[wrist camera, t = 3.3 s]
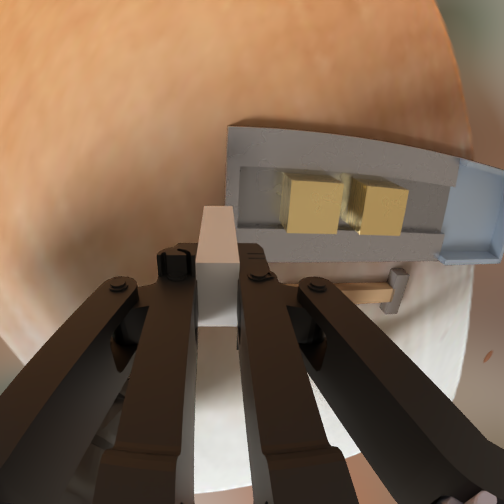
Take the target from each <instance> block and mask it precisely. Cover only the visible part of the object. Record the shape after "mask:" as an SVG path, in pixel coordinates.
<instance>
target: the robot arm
mask: <svg viewBox="0 0 504 504" xmlns="http://www.w3.org/2000/svg"><path fill="white" fill-rule="evenodd" d="M157 265H158V275H159V276H158V279H157V283H154V284H152V285H148V286H142V287H137V283H136V281H135V280H134V279H132V278H129V277H122V276H119V277H114V278H112V279H109V280H107V281H106V282H104V283H103V284H102V285H101V286H100V287H99V288H98V289H97V290H96V291H95V292H94V293H93V294H92V295H91V296H90V297H89V298H88V299H87V300H86V301H85V302H84V303H83V304H82V305H81V306H80V307H79V308H78V309H77V310H76V311H75V312H74V313H73V314H72V315H71V316H70V317H69V318H68V319H67V320H66V321H65V323H64V324H63V325H62V326H61V327H60V328H59V329H58V330H57V331H56V332H55V333H54V334H53V335H52V336H51V338H50V339H49V340H48V341H47V342H46V343H45V344H44V345H43V346H42V347H41V349H40V350H39V351H38V352H37V353H36V354H35V355H34V356H33V358H32V359H31V360H30V361H29V362H28V363H27V364H26V366H25V367H24V368H23V369H22V370H21V371H20V373H19V374H18V375H17V376H16V377H15V379H14V380H13V381H12V382H11V383H10V385H9V386H8V387H7V389H5V391H4V392H3V393H2V394H1V396H0V504H195V503H194V423H195V392H196V368H197V349H198V326H237V321H238V329H237V350H239V360H240V371H241V382H242V392H243V402H244V413H245V423H246V432H247V442H248V451H249V461H250V470H251V479H252V488H253V497H254V504H359V502H358V499H357V496H356V492H355V489H354V486H353V483H352V480H351V477H350V473H349V470H348V467H347V464H346V461H345V458H344V456H343V454H342V451H341V450H340V449H339V448H338V447H334V446H331V445H330V444H329V442H328V440H327V437H326V433H325V430H324V427H323V423H322V420H321V417H320V413H319V410H318V407H317V403H316V400H315V397H314V394H313V390H312V387H311V384H310V381H309V377H308V374H309V375H310V377H311V378H312V380H313V381H314V383H315V384H316V386H317V387H318V389H319V390H320V392H321V393H322V395H323V396H324V398H325V399H326V401H327V402H328V404H329V405H330V407H331V408H332V410H333V411H334V413H335V414H336V416H337V417H338V419H339V420H340V422H341V423H342V425H343V426H344V428H345V429H346V430H347V432H348V433H349V435H350V436H351V438H352V439H353V441H354V442H355V444H356V445H357V447H358V448H359V449H360V451H361V452H362V454H363V455H364V457H365V458H366V460H367V461H368V462H369V464H370V465H371V467H372V468H373V470H374V471H375V473H376V474H377V475H378V477H379V478H380V480H381V481H382V483H383V484H384V485H385V487H386V488H387V490H388V491H389V492H390V494H391V495H392V497H393V498H394V499H395V501H396V502H397V503H398V504H504V449H502V448H500V447H499V446H497V445H495V444H493V443H492V442H490V441H488V440H487V439H486V438H485V437H484V436H483V435H482V434H481V432H480V431H479V430H478V429H477V428H476V427H475V426H474V425H473V424H472V423H471V422H470V421H469V419H468V418H466V416H465V415H463V413H462V412H461V411H460V410H459V409H458V408H457V407H456V406H455V405H454V404H453V403H452V401H451V400H450V399H449V398H448V397H447V396H446V395H445V394H444V393H443V392H442V391H441V390H440V389H439V388H438V387H437V386H436V385H435V384H434V383H433V382H432V381H431V380H430V379H429V378H428V377H427V376H426V375H425V373H424V372H423V371H422V370H421V369H420V368H419V367H418V366H417V365H416V364H415V363H414V362H413V361H412V360H411V359H410V358H409V357H408V356H407V355H406V354H405V353H404V352H403V351H402V350H401V349H400V348H399V347H398V346H397V345H396V344H395V343H394V342H393V341H392V340H391V339H390V338H389V337H388V336H387V335H386V334H385V333H384V332H383V331H382V330H381V329H380V328H379V327H378V326H377V325H376V324H375V323H374V322H373V321H372V320H370V319H369V318H368V317H367V316H366V315H365V314H364V313H363V312H362V311H361V310H360V309H359V308H358V307H357V306H356V305H355V304H354V303H353V302H352V301H351V300H350V299H349V298H348V297H347V296H346V295H345V294H344V293H343V292H342V291H341V290H339V289H338V288H337V287H336V286H335V285H334V284H333V283H332V282H330V281H329V280H326V279H324V278H321V277H307V278H304V279H302V280H301V281H300V282H299V286H298V287H294V286H289V285H284V284H282V283H279V282H278V279H277V276H276V275H275V274H274V273H273V272H271V271H270V270H269V266H268V263H267V260H266V256H265V253H264V250H263V248H262V247H261V246H260V245H259V244H257V243H237V238H236V230H235V222H234V214H233V206H204V210H203V216H202V222H201V229H200V235H199V242H198V243H178V244H177V245H176V246H175V247H172V248H167V249H164V250H162V251H160V252H159V253H158V254H157ZM307 372H308V374H307ZM130 373H131V374H130ZM129 375H130V378H129V380H128V379H127V378H128V377H129Z"/></svg>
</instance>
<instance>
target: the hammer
mask: <svg viewBox="0 0 504 504" xmlns="http://www.w3.org/2000/svg"><path fill="white" fill-rule="evenodd" d="M408 278H409V274H408V273H407V272H406V271H405V270H404V269H391V270H390V274H389V277H388V281H387V282H375V283H333V284H334V285H335V286H336V287H337V288H338V289H339V290H341V291H342V292H343V293H344V294H345V295H346V296H347V297H348V298H349V299H350V300H351V301H352V302H353V303H354V304H365V303H381V304H380V308H381V310H382V311H383V312H384V314H397V312H398V309H399V306H400V303H401V300H402V297H403V294H404V291H405V288H406V285H407V281H408ZM284 285H289V286H294V287H298V286H299V284H284Z"/></svg>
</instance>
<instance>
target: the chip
mask: <svg viewBox="0 0 504 504" xmlns="http://www.w3.org/2000/svg"><path fill="white" fill-rule="evenodd" d="M408 193H409V190H407V189H405V188H403V187H401V186H399V185H397V184H395V183H393V182H389V181H380V180H371V179H362V178H352V182H351V190H350V197H349V204H348V211H347V217H346V223H347V224H348V225H350V226H351V227H352V228H353V229H354V230H355V231H356V232H357V233H358V234H359V235H386V236H400V234H401V229H402V224H403V220H404V215H405V210H406V204H407V199H408Z"/></svg>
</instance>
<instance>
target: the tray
mask: <svg viewBox="0 0 504 504" xmlns="http://www.w3.org/2000/svg"><path fill="white" fill-rule="evenodd" d="M455 157H456V156H455ZM458 158H460V157H458ZM441 232H442V233H444V234H445V237H444V241H443V244H442V248H441V252H440V255H439V259H438V260H439V261H440V262H441V263H442V264H444V265H465V264H495V263H500V262H501V259H502V256H503V253H504V170H502V169H499V168H496V167H492V166H489V165H486V164H482V163H479V162H475V161H472V160H468V159H464V158H460V164H459V170H458V176H457V182H456V187H451V186H450V191H449V197H448V202H447V206H446V211H445V216H444V220H443V224H442V228H441Z"/></svg>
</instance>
